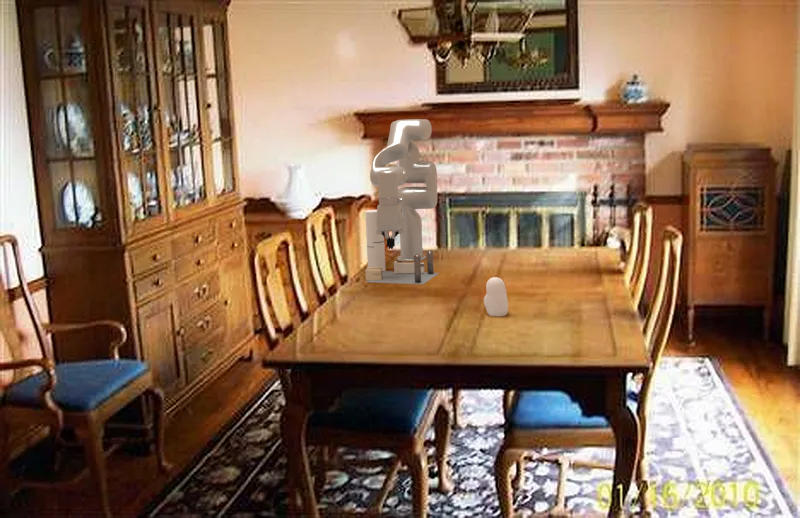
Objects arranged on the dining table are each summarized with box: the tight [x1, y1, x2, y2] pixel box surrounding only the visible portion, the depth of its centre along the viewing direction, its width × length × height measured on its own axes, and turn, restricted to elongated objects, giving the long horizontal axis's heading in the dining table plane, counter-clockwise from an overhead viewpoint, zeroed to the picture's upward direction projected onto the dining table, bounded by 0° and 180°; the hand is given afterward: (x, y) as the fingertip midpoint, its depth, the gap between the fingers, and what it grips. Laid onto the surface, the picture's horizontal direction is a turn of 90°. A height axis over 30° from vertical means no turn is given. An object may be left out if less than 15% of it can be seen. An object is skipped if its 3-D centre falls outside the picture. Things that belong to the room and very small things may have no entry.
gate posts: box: [413, 250, 435, 283], centre depth 355 cm, size 19×3×11 cm, turn 161°
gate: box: [393, 260, 425, 273], centre depth 365 cm, size 12×2×5 cm, turn 81°
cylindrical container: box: [364, 209, 386, 272], centre depth 372 cm, size 7×7×25 cm
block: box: [364, 266, 383, 281], centre depth 358 cm, size 6×6×4 cm
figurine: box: [483, 276, 509, 317], centre depth 299 cm, size 7×8×12 cm
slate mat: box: [366, 270, 440, 285], centre depth 359 cm, size 21×23×1 cm
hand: (390, 248), depth 357 cm, fingers closed
